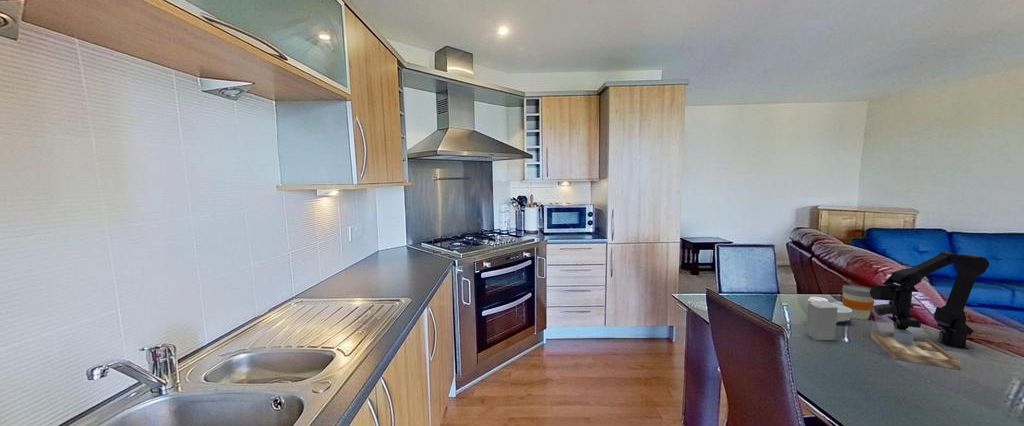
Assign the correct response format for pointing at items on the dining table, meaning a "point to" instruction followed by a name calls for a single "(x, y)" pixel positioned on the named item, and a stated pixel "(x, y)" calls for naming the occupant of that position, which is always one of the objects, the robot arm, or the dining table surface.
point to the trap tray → (917, 352)
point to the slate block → (903, 336)
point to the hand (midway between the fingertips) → (898, 335)
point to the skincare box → (821, 320)
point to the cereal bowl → (843, 312)
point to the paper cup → (817, 299)
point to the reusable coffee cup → (858, 300)
